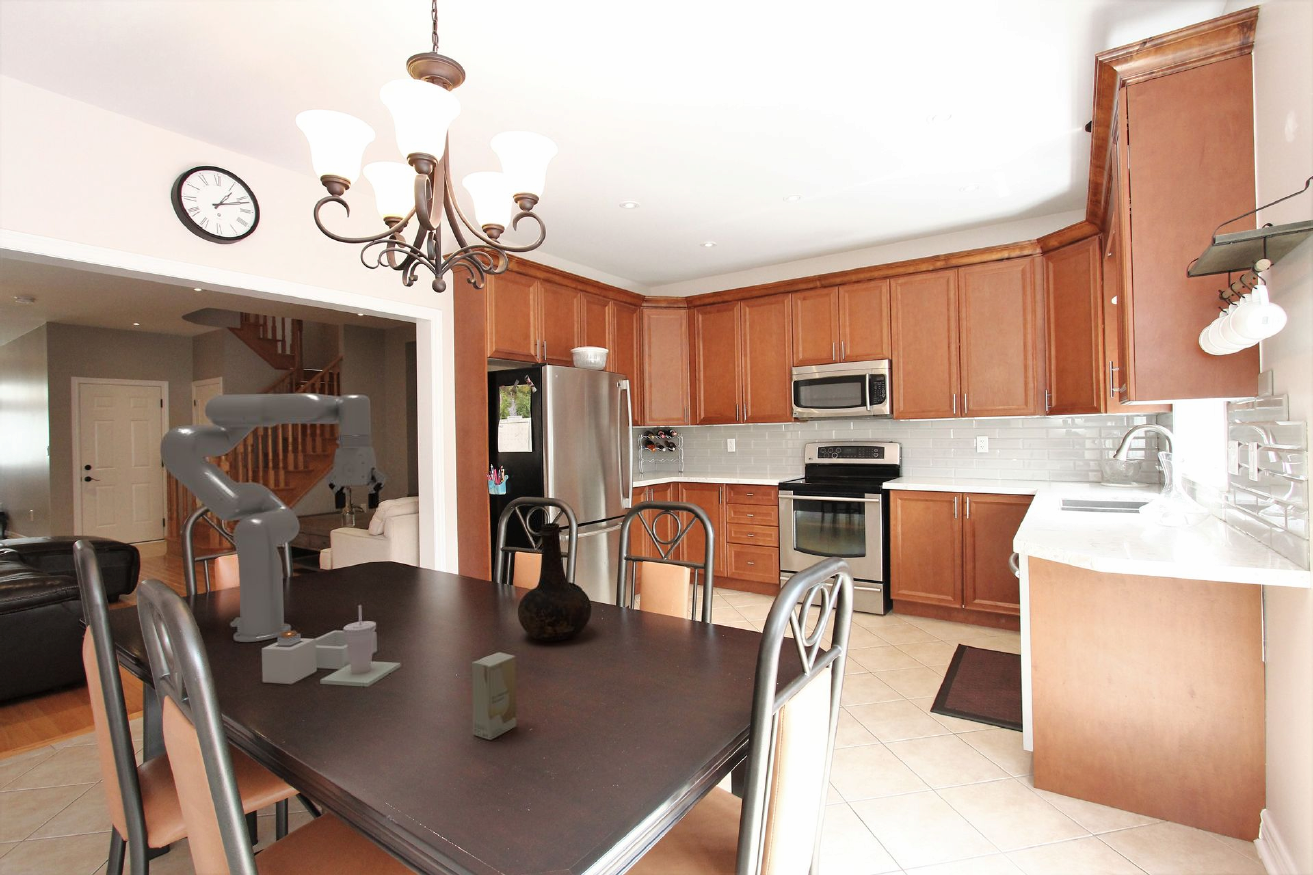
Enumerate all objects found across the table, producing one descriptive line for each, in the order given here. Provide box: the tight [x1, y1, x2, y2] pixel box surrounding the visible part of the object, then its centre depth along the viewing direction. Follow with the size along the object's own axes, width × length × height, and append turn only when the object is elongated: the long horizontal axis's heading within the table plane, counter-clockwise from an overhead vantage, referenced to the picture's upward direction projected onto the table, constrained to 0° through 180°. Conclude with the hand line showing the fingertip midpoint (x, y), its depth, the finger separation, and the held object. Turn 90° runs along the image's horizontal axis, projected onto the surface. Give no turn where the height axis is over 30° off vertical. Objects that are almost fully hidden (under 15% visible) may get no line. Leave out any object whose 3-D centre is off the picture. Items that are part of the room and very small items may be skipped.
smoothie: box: [342, 604, 377, 674], centre depth 133 cm, size 6×6×14 cm
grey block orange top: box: [276, 630, 302, 647], centre depth 132 cm, size 3×3×7 cm
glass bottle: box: [517, 522, 592, 642], centre depth 155 cm, size 18×18×28 cm
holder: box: [315, 630, 378, 670], centre depth 143 cm, size 11×11×4 cm
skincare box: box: [471, 651, 517, 741], centre depth 106 cm, size 6×4×12 cm
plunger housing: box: [261, 637, 318, 685], centre depth 133 cm, size 7×7×7 cm
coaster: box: [319, 661, 402, 688], centre depth 132 cm, size 11×11×1 cm
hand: (357, 508), depth 162 cm, fingers open, 9 cm apart
